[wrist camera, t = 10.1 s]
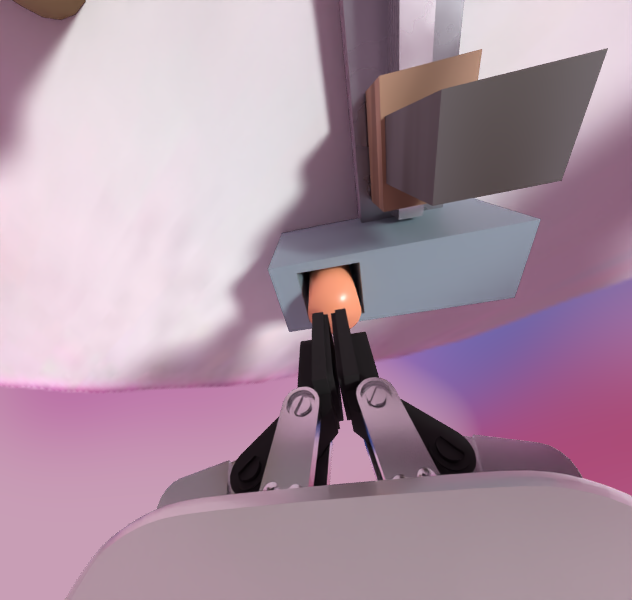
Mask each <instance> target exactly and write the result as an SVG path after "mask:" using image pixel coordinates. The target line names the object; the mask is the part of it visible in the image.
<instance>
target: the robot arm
mask: <svg viewBox="0 0 632 600" xmlns="http://www.w3.org/2000/svg"><path fill="white" fill-rule="evenodd" d="M331 319H332V329H333V337H332V332H331V328H330V323H329V318H328V314H323V312H319V313H313V314H312V340H308V341H302V342H301V344H300V357H299V373H298V388H296V389H294V390H292V391H291V392H290V393H289V394H288V395H287V396H286V397H285V400H284V402H283V405H282V409H281V412H280V416H279V417H278V418H277V419H276V420H275V421H274V422H273V423H272V424H271V425H270V426H269V427H268V428H267V429H266V430H265V431H264V432H263V433H262V434H261V435H260V436H259V437H258V438H257V439H256V440H255V441H254V442H253V443H252V444H251V445H250V446H249V447H248V448H247V449H246V450H245V451H244V452H243V453H242V454H241V455H240V456H239V458H238V459H237V460H236V461H234V462H230V461H226V462H223V463H221V464H218V465H216V466H213V467H210V468H207V469H205V470H202V471H199V472H197V473H194V474H191V475H189V476H186V477H183V478H181V479H179V480H177V481H175V482H174V483H172V484H171V485H170V486H169V487H168V488H167V490H166V491H165V493H164V494H163V495H162V497H161V499H160V502H159V504H158V507H157V509H156V510H154V511H152V512H150V513H148V514H146V515H144V516H142V517H140V518H138V519H137V520H135V521H133V522H132V523H130V524H129V525H127V526H126V527H124V528H123V529H122V530H120V531H119V532H118V533H116V534H115V535H114V536H113V537H111V538H110V539H109V540H108V541H107V542H106V543H105V544H104V545H103V546H102V547H101V548H100V549H99V550H98V552H97V553H96V554H95V555H94V556H93V558H92V559H91V560H90V562H89V563H88V565H87V566H86V567H85V569H84V570H83V572H82V573H81V575H80V576H79V578H78V579H77V581H76V582H75V584H74V586H73V587H72V589H71V590H70V592H69V594H68V595H67V597H66V598H65V600H632V496H631V495H629V494H626V493H624V492H622V491H619V490H617V489H614V488H612V487H609V486H606V485H603V484H600V483H596V482H594V481H590V480H587V479H583V478H582V476H581V474H580V473H579V471H578V469H577V468H576V467H575V465H574V464H573V463H572V461H571V460H570V459H569V458H568V457H566V456H565V455H564V454H563V453H561V452H560V451H558V450H556V449H555V448H553V447H551V446H549V445H545V444H541V443H537V442H528V441H520V440H512V439H504V438H496V437H488V436H480V435H473V437H467V436H462V435H461V434H459V433H458V432H456V431H455V430H453V429H451V428H450V427H448V426H446V425H445V424H443V423H441V422H439V421H438V420H436V419H434V418H433V417H431V416H429V415H427V414H426V413H424V412H422V411H421V410H419V409H417V408H415V407H414V406H412V405H410V404H409V403H407V402H405V401H403V400H402V399H400V398H399V396H398V394H397V392H396V390H395V389H394V387H393V386H392V384H391V383H389V382H388V381H387V380H384V379H382V378H379V376H378V373H377V369H376V366H375V362H374V359H373V355H372V352H371V349H370V345H369V342H368V338H367V335H366V332H360V333H354V334H351V333H350V328H349V324H348V319H347V314H346V309H345V308H343V309H337V310H335V313H331ZM333 338H334V342H333ZM340 389H341V393H340ZM341 394H342V398H343V403H344V407H345V412H346V416H347V420H352V425H353V430H354V432H356V433H357V434H358V435H359V436H360V437H362V438H363V439H364V442H365V446H366V449H367V452H368V456H369V459H370V462H371V465H372V468H373V471H374V474H375V477H376V480H377V481H369V482H357V483H346V484H335V485H330V474H331V459H332V446H333V444H332V440H333V439H334V438H335V436H336V435H337V434H338V429H340V427H339V421H343V411H342V402H341Z"/></svg>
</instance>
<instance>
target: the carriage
mask: <svg viewBox="0 0 632 600" xmlns="http://www.w3.org/2000/svg"><path fill="white" fill-rule="evenodd" d="M607 50H608V48H607V49H603V50H599V51H595V52H591V53H587V54H583V55H579V56H575V57H571V58H567V59H562V60H558V61H554V62H550V63H546V64H542V65H538V66H534V67H530V68H526V69H522V70H518V71H514V72H510V73H506V74H502V75H498V76H494V77H490V78H486V79H481V80H478V75H479V68H480V61H481V54H482V49H481V50H477V51H473V52H469V53H465V54H461V55H457V56H454V57H450V58H446V59H442V60H438V61H434V62H430V63H427V64H423V65H419V66H415V67H411V68H407V69H404V70H400V71H396V72H392V73H388V74H384V75H380V76H379V77H378V78H377V79H376V80H375V81H374V82H373V84H372V85H371V86H370V87H369V88H368V89H367V90H366V109H367V126H368V144H369V161H370V179H371V196H372V202H373V203H374V204H375V205H376V206H378V207H379V208H380V209H381V210H382V211H383V212H387V211H392V210H397V209H402V208H407V207H412V206H417V205H422V204H429V205H431V206H435V205H440V204H445V203H450V202H455V201H461V200H466V199H471V198H476V197H481V196H486V195H491V194H496V193H501V192H506V191H511V190H516V189H521V188H526V187H531V186H537V185H542V184H547V183H552V182H557V181H562V178H563V175H564V172H565V169H566V166H567V164H568V161H569V158H570V155H571V152H572V149H573V147H574V144H575V141H576V138H577V135H578V132H579V129H580V127H581V124H582V121H583V118H584V115H585V112H586V109H587V107H588V104H589V101H590V98H591V95H592V92H593V89H594V87H595V84H596V81H597V78H598V75H599V72H600V69H601V67H602V64H603V61H604V58H605V55H606V52H607Z"/></svg>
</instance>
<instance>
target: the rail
mask: <svg viewBox="0 0 632 600" xmlns="http://www.w3.org/2000/svg"><path fill="white" fill-rule="evenodd" d="M339 8H340V19H341V30H342V41H343V52H344V63H345V74H346V85H347V96H348V107H349V118H350V129H351V140H352V151H353V162H354V173H355V184H356V195H357V206H358V217H359V220H360V221H361V223H364V222H369V221H374V220H379V219H384V218H390V217H396V218H397V219H398V220H402V219H407V218H412V217H417V216H422V215H423V211H425V210H430V209H435V208H441V207H443V204H440V205H435V206H431V205H429V204H422V205H417V206H412V207H407V208H402V209H397V210H392V211H387V212H383V211H382V210H381V209H380V208H379V207H378V206H376V205H375V204H374V203H373V202H372V196H371V179H370V161H369V144H368V126H367V109H366V90H367V89H368V88H369V87H370V86H371V85H372V84H373V82H374V81H375V80H376V79H377V78H378V77H379V76H380V75H384V74H388V73H392V72H396V71H400V70H404V69H407V68H411V67H415V66H419V65H423V64H427V63H430V62H434V61H438V60H442V59H446V58H450V57H454V56H457V55H459V47H460V37H461V27H462V17H463V8H464V0H339Z"/></svg>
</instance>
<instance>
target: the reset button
mask: <svg viewBox="0 0 632 600" xmlns="http://www.w3.org/2000/svg"><path fill="white" fill-rule="evenodd" d="M343 308H345V309H346V314H347V319H348V324H349V328H350V329H351V328H352V327H353V326H355V325H356V323H357V322H358V321H359V319H360V316H361V306H360V302H359V299H358V295H357V292H356V288H355V285H354V281H353V278H352V275H351V271H350V268H349V264H347V265H341V266H336V267H330V268H324V269H319V270H313V271H310V281H309V304H308V316H309V320H310V322H311V323H312V314H313V313H319V312H323V314H328V318H329V323H330V328H331V332H332V333H333V329H332V319H331V313H335V310H337V309H343Z"/></svg>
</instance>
